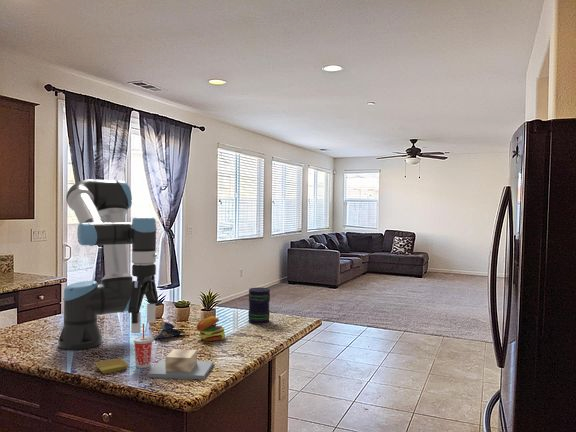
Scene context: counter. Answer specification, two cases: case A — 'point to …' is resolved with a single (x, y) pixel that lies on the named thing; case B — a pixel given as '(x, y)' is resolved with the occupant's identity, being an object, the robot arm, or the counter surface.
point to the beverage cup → (143, 350)
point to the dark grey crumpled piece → (168, 331)
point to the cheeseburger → (210, 329)
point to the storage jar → (259, 305)
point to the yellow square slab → (112, 365)
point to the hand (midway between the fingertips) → (143, 327)
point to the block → (181, 360)
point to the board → (196, 373)
